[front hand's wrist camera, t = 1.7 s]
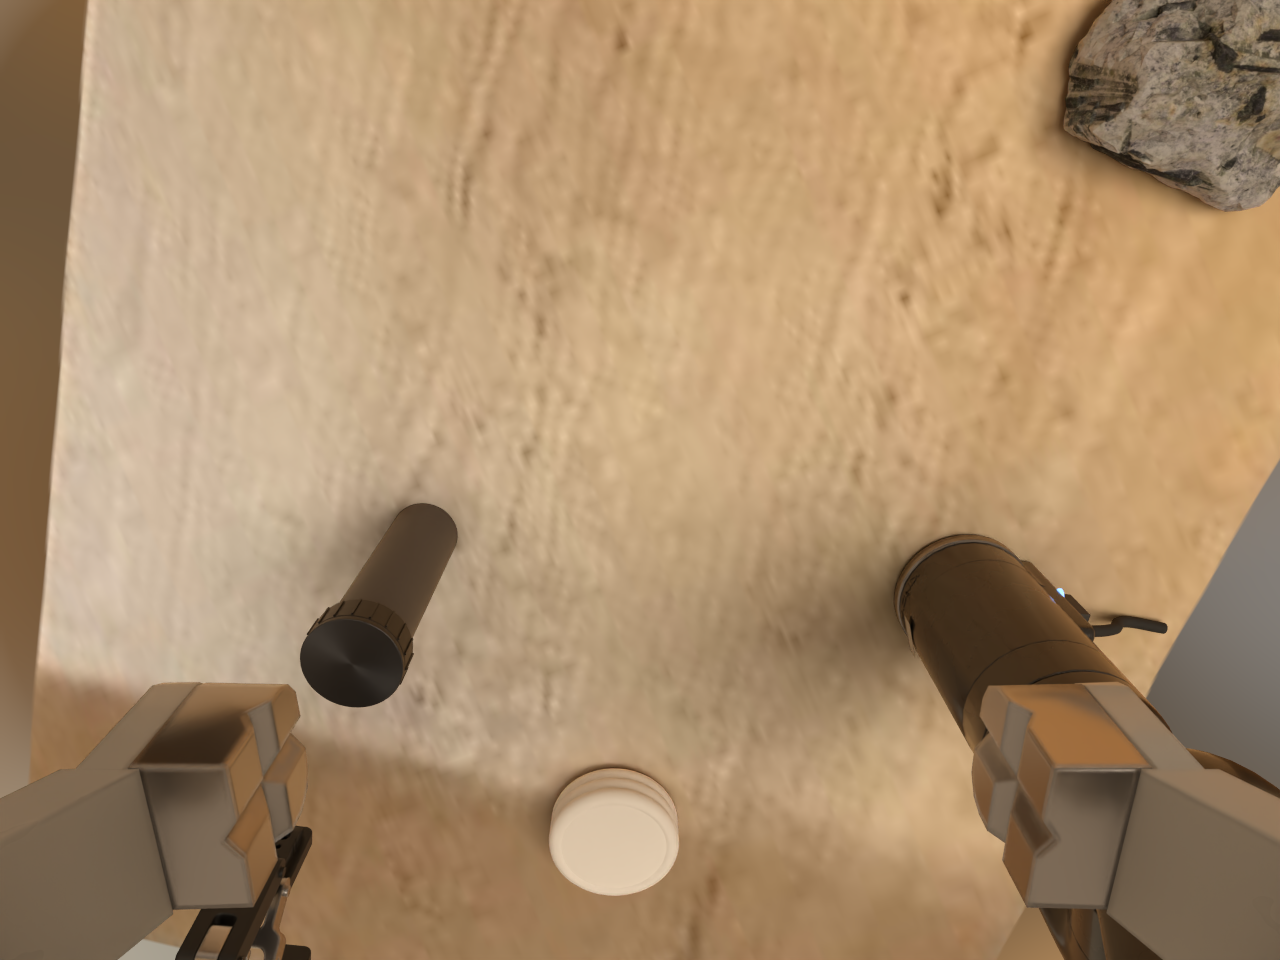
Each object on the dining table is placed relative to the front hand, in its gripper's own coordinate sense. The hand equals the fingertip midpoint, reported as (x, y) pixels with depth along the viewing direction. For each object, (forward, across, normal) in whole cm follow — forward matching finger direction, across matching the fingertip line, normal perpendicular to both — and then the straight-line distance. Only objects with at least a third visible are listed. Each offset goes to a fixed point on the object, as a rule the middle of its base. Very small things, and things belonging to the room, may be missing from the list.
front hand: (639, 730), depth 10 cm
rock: (+48, -32, -10) cm, 58 cm away
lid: (+32, +15, +19) cm, 40 cm away
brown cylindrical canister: (+48, +15, +19) cm, 54 cm away
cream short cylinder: (+48, +2, +43) cm, 65 cm away
